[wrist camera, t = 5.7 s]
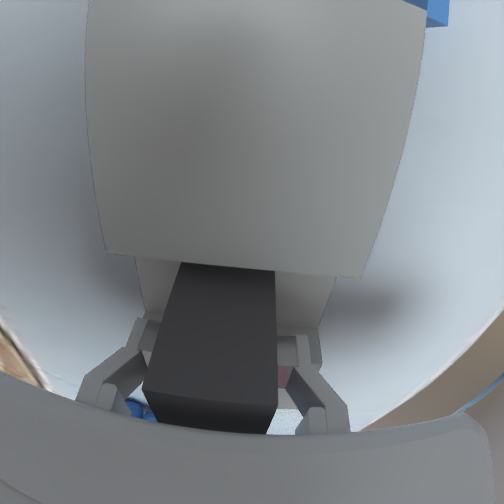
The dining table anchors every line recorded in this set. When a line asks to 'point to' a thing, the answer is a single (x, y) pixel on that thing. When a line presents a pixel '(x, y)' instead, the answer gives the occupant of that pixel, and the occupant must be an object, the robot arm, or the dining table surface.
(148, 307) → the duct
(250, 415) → the dark grey rectangular box
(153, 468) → the robot arm
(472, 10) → the dining table surface
